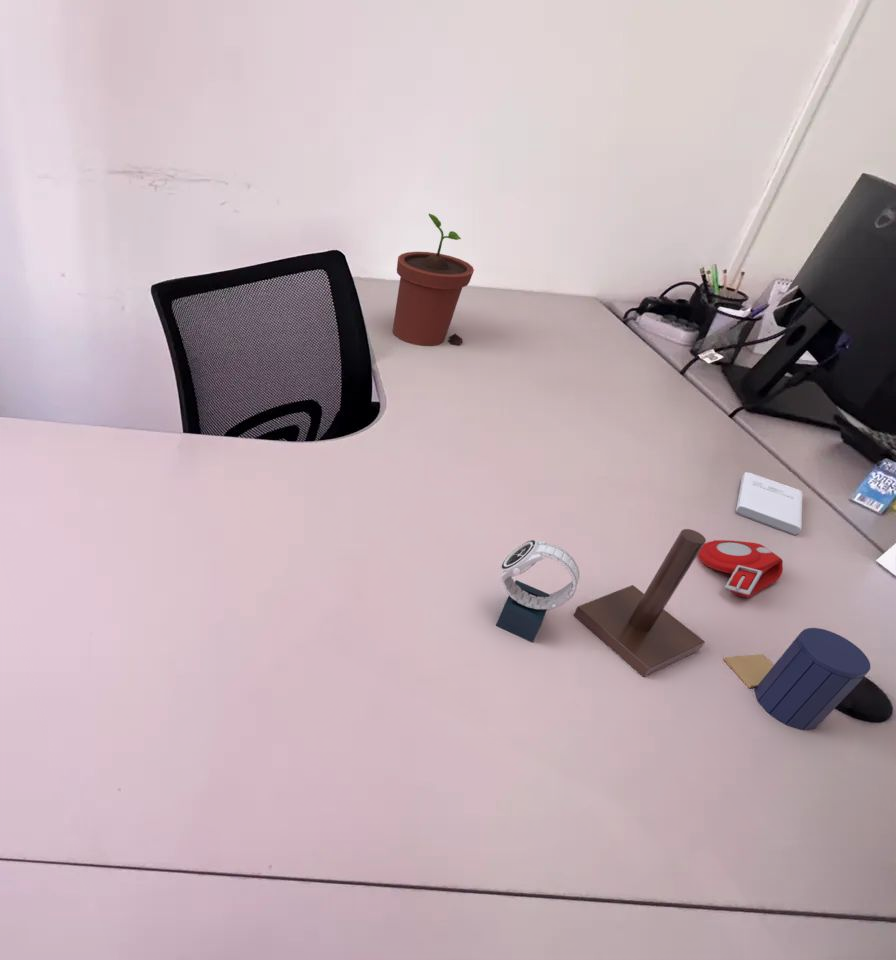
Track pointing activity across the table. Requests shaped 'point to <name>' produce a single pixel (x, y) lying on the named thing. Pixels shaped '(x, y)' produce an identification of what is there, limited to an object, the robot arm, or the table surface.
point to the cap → (804, 677)
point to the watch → (532, 589)
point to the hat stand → (647, 614)
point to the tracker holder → (743, 565)
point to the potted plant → (429, 294)
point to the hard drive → (770, 503)
